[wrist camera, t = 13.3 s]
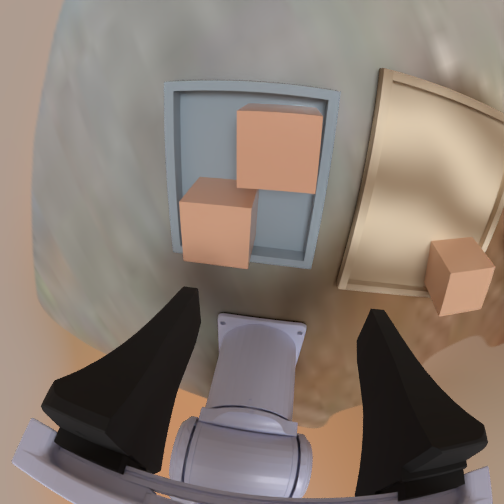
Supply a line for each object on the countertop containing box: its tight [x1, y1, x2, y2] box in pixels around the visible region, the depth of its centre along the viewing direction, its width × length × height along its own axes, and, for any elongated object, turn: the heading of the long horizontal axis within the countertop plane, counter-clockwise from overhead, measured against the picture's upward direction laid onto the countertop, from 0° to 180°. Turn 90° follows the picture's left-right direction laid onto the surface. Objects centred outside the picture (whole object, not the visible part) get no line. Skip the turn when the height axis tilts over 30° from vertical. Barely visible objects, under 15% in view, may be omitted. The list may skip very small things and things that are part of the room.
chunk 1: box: [179, 177, 259, 269], centre depth 19 cm, size 4×4×4 cm
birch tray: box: [337, 68, 504, 298], centre depth 18 cm, size 16×12×1 cm
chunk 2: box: [237, 103, 323, 194], centre depth 15 cm, size 4×4×4 cm
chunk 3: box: [424, 237, 495, 316], centre depth 18 cm, size 4×4×4 cm
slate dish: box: [164, 80, 340, 269], centre depth 18 cm, size 12×10×2 cm
